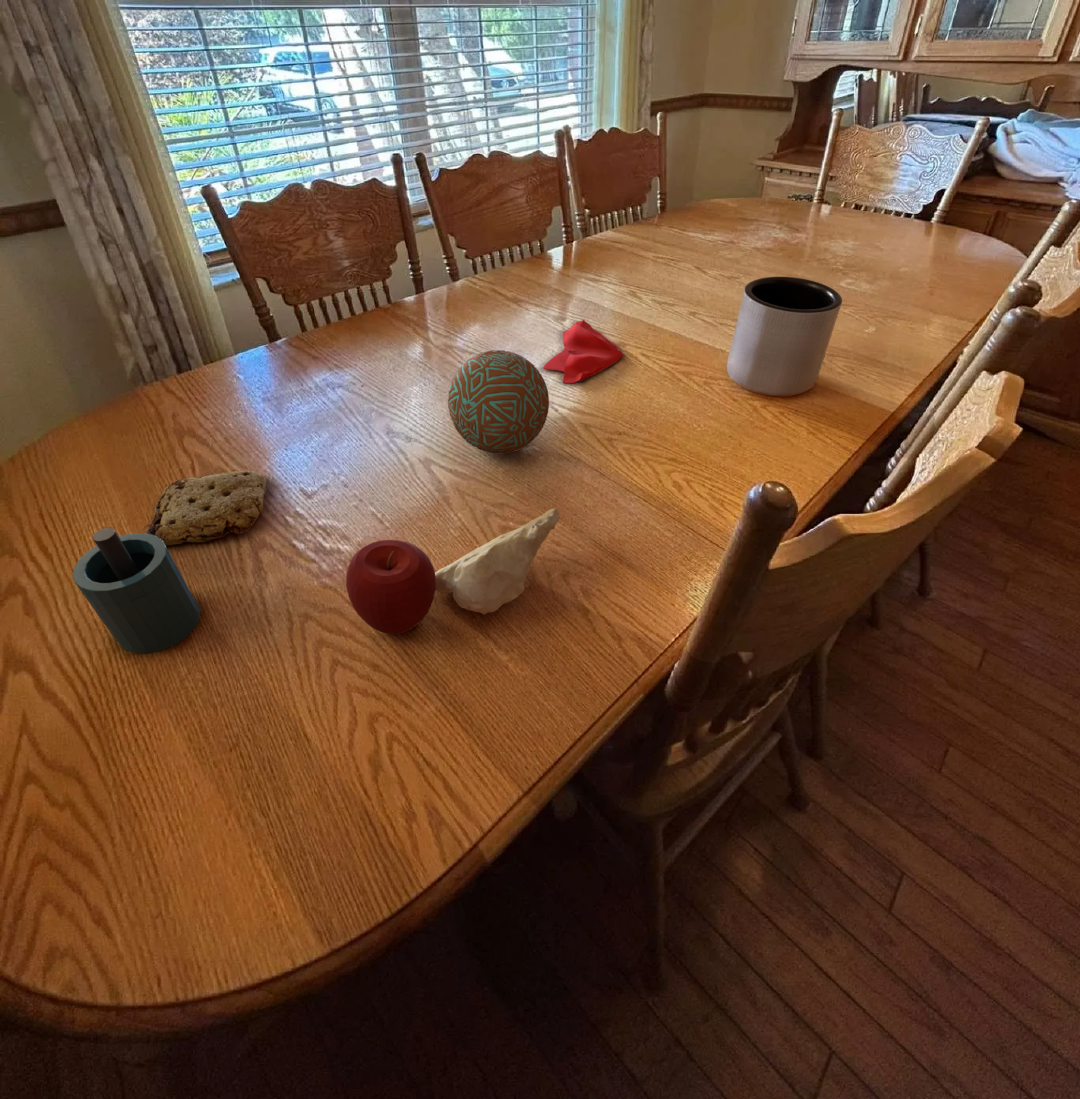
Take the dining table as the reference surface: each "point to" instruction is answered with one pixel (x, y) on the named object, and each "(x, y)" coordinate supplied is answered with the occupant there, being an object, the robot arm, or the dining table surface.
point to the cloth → (583, 353)
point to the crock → (139, 596)
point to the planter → (782, 335)
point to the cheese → (496, 567)
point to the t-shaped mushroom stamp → (115, 553)
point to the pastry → (208, 507)
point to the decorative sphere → (498, 401)
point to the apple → (391, 585)
